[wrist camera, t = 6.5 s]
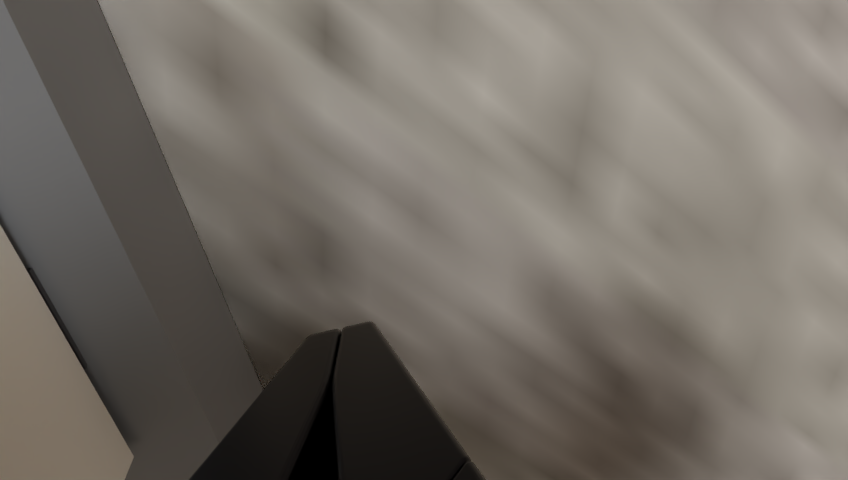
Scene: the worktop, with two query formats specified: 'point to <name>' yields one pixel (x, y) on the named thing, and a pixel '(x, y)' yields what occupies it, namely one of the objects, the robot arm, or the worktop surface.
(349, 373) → the robot arm
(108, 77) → the switch panel
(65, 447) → the switch handle
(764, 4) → the worktop surface
